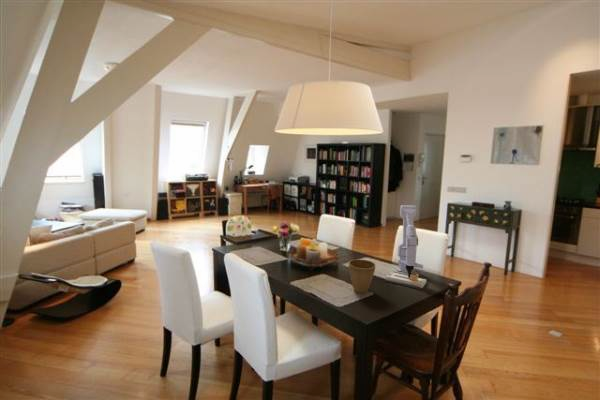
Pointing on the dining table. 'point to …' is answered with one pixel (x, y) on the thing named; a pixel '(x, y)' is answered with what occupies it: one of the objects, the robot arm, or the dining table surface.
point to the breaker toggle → (414, 276)
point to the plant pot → (361, 274)
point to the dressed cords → (404, 283)
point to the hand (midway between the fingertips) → (409, 277)
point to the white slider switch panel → (405, 279)
